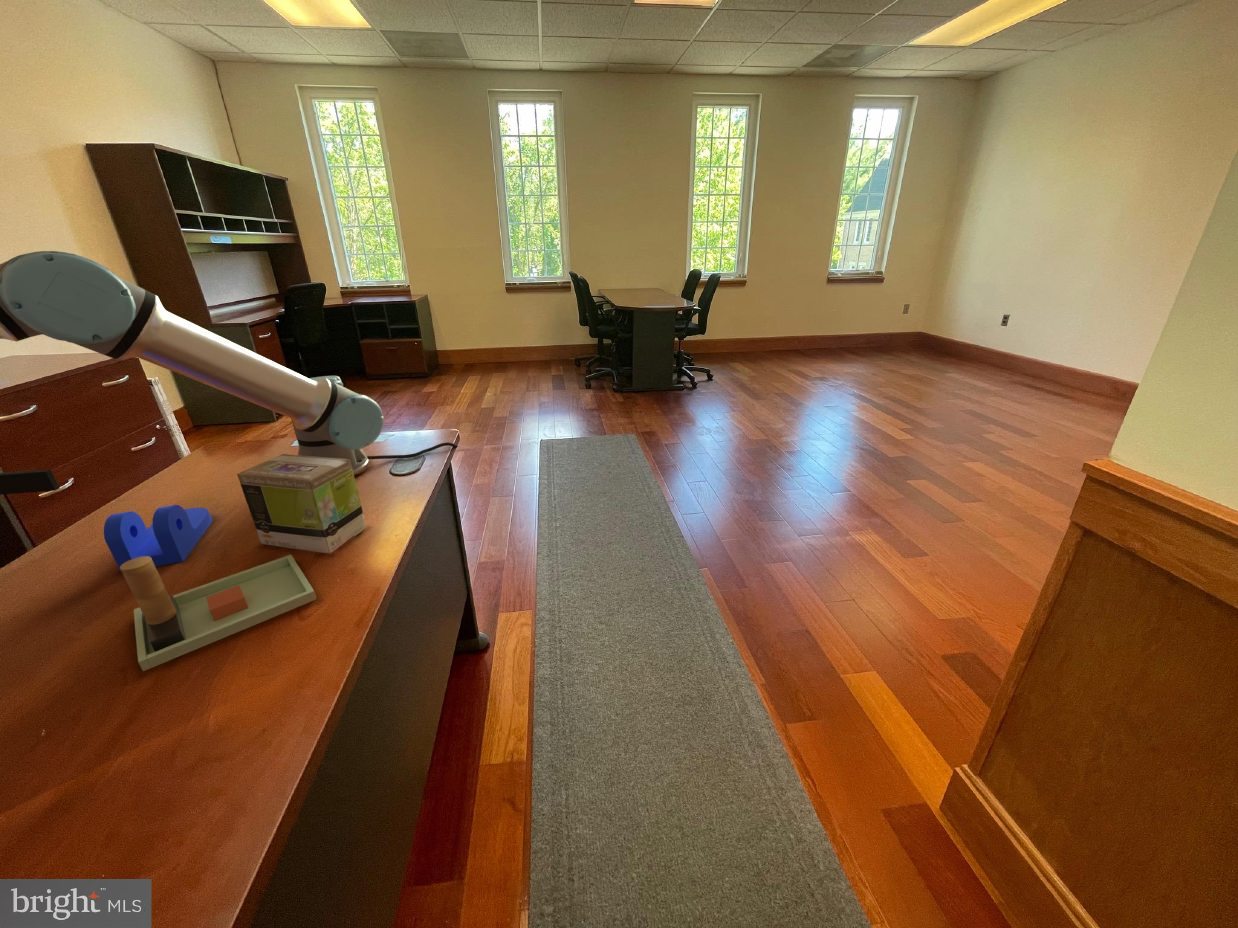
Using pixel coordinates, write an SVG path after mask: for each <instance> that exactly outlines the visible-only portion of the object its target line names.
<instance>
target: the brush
mask: <svg viewBox="0 0 1238 928" xmlns="http://www.w3.org/2000/svg"><path fill="white" fill-rule="evenodd" d="M120 569H121V571H122V576H123V577H124V579H125V581H126V584H127V585H128V587H129V589H130V591H131V593H132V595H133V597H134V600H135V601H136V603H137V605H138V608H139V607H140V609H141V611H142V613H143V615H144V617H145V619H146V621H147V623H148V630H149V638H150V643H151V645H152V647H153V649H154V651H155V652H156V651H159V650H161V649H164V648H166V647H169V646H171V645H174V644H176V643H179V642H181V641H184V640H186V637H185V633H184V628H183V623H182V619H181V614H180V610H179V607H178V605H177V603H176V600H175V598H174V596H173V595H169V593H168V590H167V588H166V586H165V584H164V582H163V580H162V577H161V575H160V574H159V571H158V568H157V566H156V567H155V565H154V563H153V560H152V558H151V557H149V556H143V557H138V558H134V559H131V560H129V561H127V562H125V563H123V564H122V565H121V566H120ZM120 569H119V570H120ZM121 571H120V572H121Z"/></svg>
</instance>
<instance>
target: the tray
mask: <svg viewBox="0 0 1238 928" xmlns="http://www.w3.org/2000/svg"><path fill="white" fill-rule="evenodd" d="M238 585H239V586H240V588H241V591H242V593H243V595H244V598H245V600H246V603H247V606H248V608H247V609H244V610H242V611H239V612H237V613H234V614H232V615H229V616H226V617H224V618H221V619H219V620H216V621H214V619H213V616H212V614H211V612H210V609H209V606H208V602H207V599H206V597H208V596H211V595H214V594H216V593H219V592H222V591H225V590H227V589H230V588H233V587H236V586H238ZM172 596H174V598H175V600H176V603H177V605H178V607H179V610H180V614H181V619H182V623H183V628H184V633H185V637H186V640H184V641H181V642H179V643H176V644H174V645H171V646H169V647H166V648H164V649H161V650H159V651H156V652H155V651H154V649H153V647H152V645H151V643H150V638H149V630H148V623H147V621H146V619H145V617H144V615H143V613H142V611H141V609H140V607H139V606H138V607H137V608H134V609H133V621H134V631H135V632H134V633H135V643H136V654H137V663H138V665H139V667H140V668H141V671H142V672H145V671H147V670H150V669H152V668H154V667H157V666H159V665H161V664H164V663H166V662H169V661H172V660H174V659H176V658H178V657H181V656H183V655H185V654H188V653H190V652H193V651H195V650H198V649H200V648H203V647H206V646H208V645H210V644H212V643H215V642H217V641H219V640H221V639H225V638H227V637H229V636H231V635H234V634H236V633H239V632H242V631H243V630H246V629H248V628H251V627H253V626H255V625H258V624H261V623H263V622H266V621H268V620H271V619H272V618H275V617H277V616H280V615H282V614H284V613H287V612H290V611H292V610H295V609H296V608H299V607H302V606H304V605H306V604H308V603H310V602H313V601H315V600H317V595H316V591H315V590H314V589H313V587H312V585H311V584H310V582H309V580H308V579H307V577H306V575H305V574H304V572H303V571H302V569H301V568H300V566H299V565H298V563H297V562H296V560H295V558H294V557H293V555H292V554H288V555H285V556H283V557H279V558H276V559H274V560H271V561H268V562H265V563H262V564H260V565H256V566H254V567H251V568H248V569H246V570H245V569H244V570H242V571H240V572H239V571H238V572H237V573H234V574H230V575H228V576H225V577H222V578H220V579H217V580H213V581H212V582H208V583H205V584H202V585H199V586H197V587H194V588H190V589H188V590H185V591H182V592H179V593H177V594H173V595H172Z"/></svg>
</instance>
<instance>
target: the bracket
mask: <svg viewBox="0 0 1238 928" xmlns="http://www.w3.org/2000/svg"><path fill="white" fill-rule="evenodd" d="M210 513H211V512H210V511H209V509H208V508H205V507H190V508H184V507H182V506H181V505H179V504H172V505H165V506H160V507H158V508H156V509H155V510H154V513H153V516H152V523H151V525H149V527H148V528H147V527H146V524H145V523H144V520H143V518H142V517H141V516H140V515H139V514H138V513H137V512H136V511H131V510H130V511H124V512H123V511H122V512H117V513H112V514H110V515H109V516H107V518H106V519H105V521H104V525H103V537H104V540H105V544H106V545H107V548H108V549H109V551H110V553H111V556H112V558H113V559H114V561H115V562H116V565H117V567H118V569H119V571H120V573H122V571H121V569H120V566H121V565H122V564H123V563H125V562H127V561H129V560H131V559H134V558H138V557H143V556H149V557H151V558H152V560H153V563H154V565H155V567H156V568H157V567H161V566H167V565H172V564H178V563H184V561H185V560H186V558H187V557H188V556H189V554H191V552H192V550H193V549H194V548H195V546H196V545H197V544H198V542H199V541H200V539H201V538H202V537H203V535H204V534H205V533H206V531H207V530H208V529H209V527H210V526H211V524H212V523H213V518H212V516H211V514H210ZM122 574H123V573H122Z"/></svg>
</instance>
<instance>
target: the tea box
mask: <svg viewBox="0 0 1238 928" xmlns="http://www.w3.org/2000/svg"><path fill="white" fill-rule="evenodd" d="M236 476H237V478H238V481H239V484H240V487H241V490H242V493H243V496H244V498H245V502H246V505H247V507H248V510H249V513H250V516H251V518H252V521H253V524H254V527H255V530H256V533H257V536H258V539H259V542H260V544H261V545H268V546H275V547H281V548H288V549H296V550H302V551H308V552H314V553H315V552H316V553H323V554H332V553H333V552H335V551H336V550H337V549H338V548H339V547H341V546H342V545H343V544H345V543H346V542H347V541H348V540H351V539H352V538H353V537H356V536H357V535H359V534H360V533H362V532H363V531H364V530H365V529H366V528H367V524H366V520H365V519H366V518H365V516H364V511H363V506H362V503H361V499H360V494H359V491H358V486H357V483H356V478H355V477H354V474H353V469H352V466H351V462H350V460H349V459H339V458H326V457H314V456H302V455H298V454H289V453H282V454H280V455H277V456H275V457H273V458H270V459H268V460H266V461H264V462H262V463H259V464H256V465H254V466H252V467H250V468H247V469H244V470H243V471H240V472H238V473H236Z"/></svg>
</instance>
